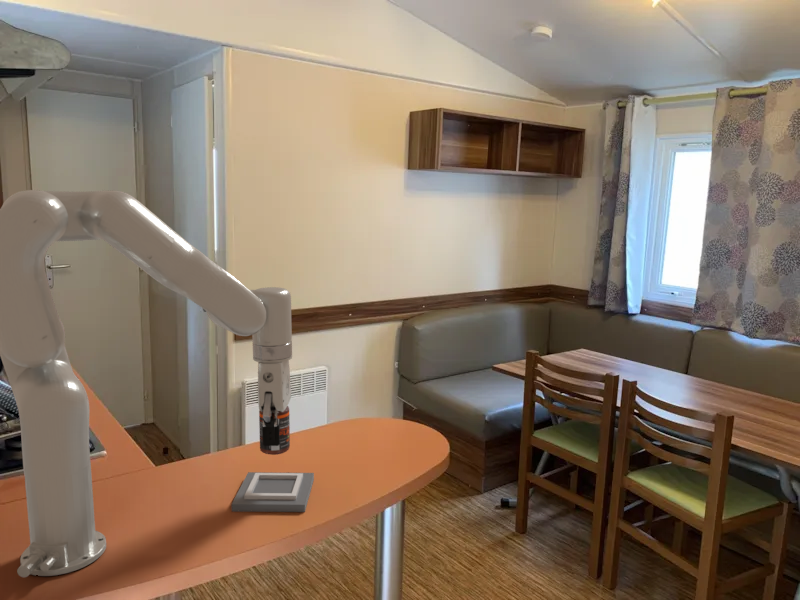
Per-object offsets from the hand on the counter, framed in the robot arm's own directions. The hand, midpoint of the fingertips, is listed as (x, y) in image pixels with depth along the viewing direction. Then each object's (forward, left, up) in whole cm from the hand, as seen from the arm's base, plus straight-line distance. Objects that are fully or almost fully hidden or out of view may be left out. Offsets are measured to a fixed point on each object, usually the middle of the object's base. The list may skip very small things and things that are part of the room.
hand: (274, 437), depth 124 cm
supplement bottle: (0, 0, -3) cm, 3 cm away
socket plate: (0, 0, -12) cm, 12 cm away
